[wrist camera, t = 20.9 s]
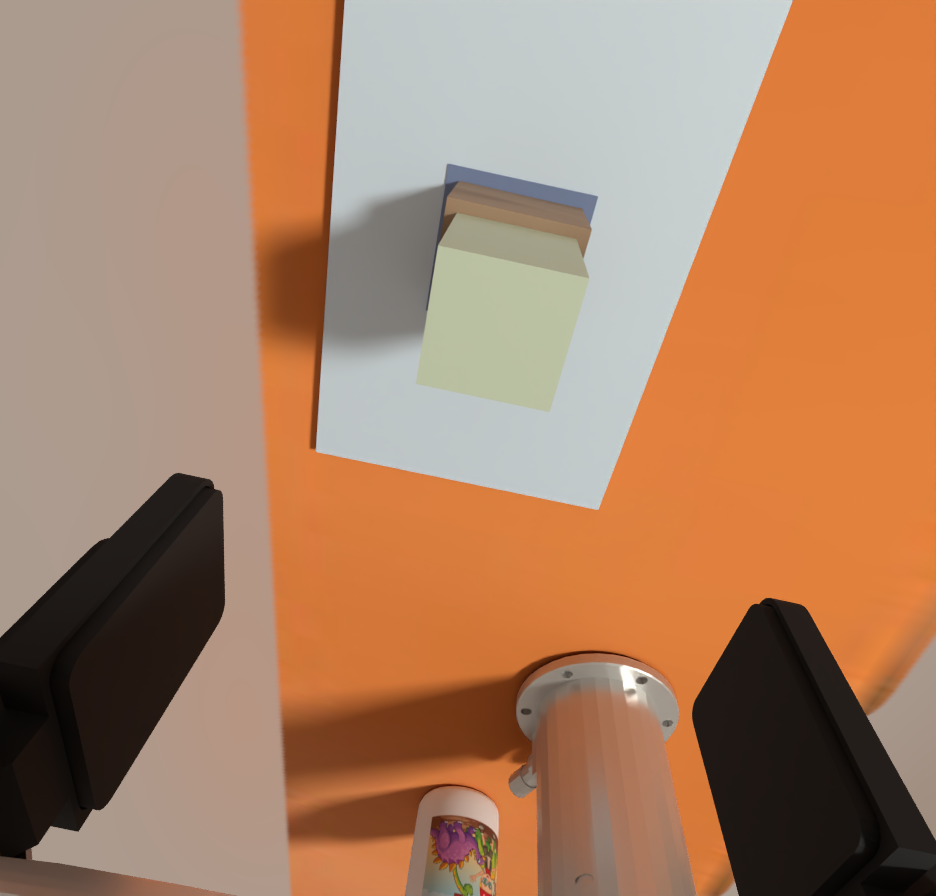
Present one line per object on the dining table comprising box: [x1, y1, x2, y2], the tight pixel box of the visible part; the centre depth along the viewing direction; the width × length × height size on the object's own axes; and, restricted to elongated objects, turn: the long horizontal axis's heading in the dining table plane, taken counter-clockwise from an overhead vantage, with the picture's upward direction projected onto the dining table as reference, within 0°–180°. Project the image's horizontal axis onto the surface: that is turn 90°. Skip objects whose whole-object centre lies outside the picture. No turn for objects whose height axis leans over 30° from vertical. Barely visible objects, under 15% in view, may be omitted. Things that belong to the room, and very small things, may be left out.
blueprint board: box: [316, 0, 793, 510], centre depth 30 cm, size 28×18×1 cm, turn 169°
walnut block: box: [440, 181, 592, 258], centre depth 28 cm, size 6×6×5 cm
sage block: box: [416, 213, 589, 412], centre depth 23 cm, size 5×5×6 cm
